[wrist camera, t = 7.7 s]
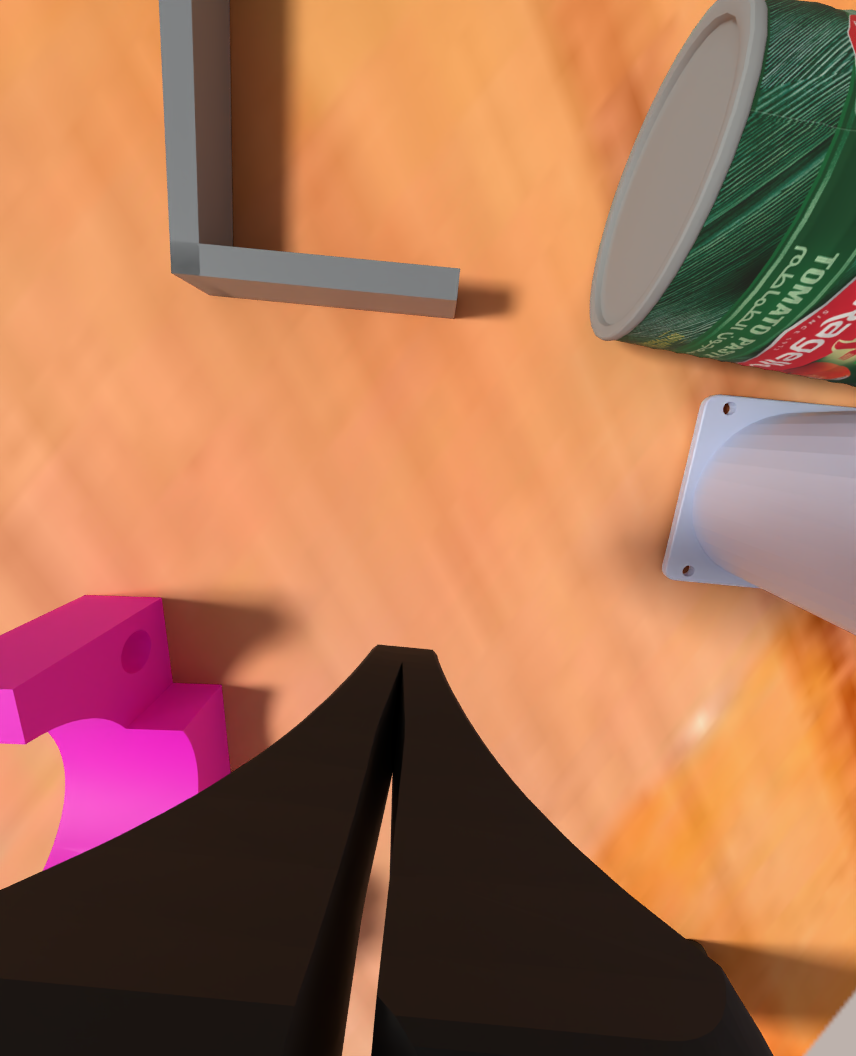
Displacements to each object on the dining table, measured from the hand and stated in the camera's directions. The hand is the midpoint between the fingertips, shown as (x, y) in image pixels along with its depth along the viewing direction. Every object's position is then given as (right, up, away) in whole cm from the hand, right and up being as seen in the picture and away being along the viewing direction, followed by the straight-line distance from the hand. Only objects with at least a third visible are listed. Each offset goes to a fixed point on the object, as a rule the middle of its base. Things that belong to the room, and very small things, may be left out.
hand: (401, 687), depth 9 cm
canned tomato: (+7, +14, +3) cm, 15 cm away
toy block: (-13, -7, +13) cm, 20 cm away
